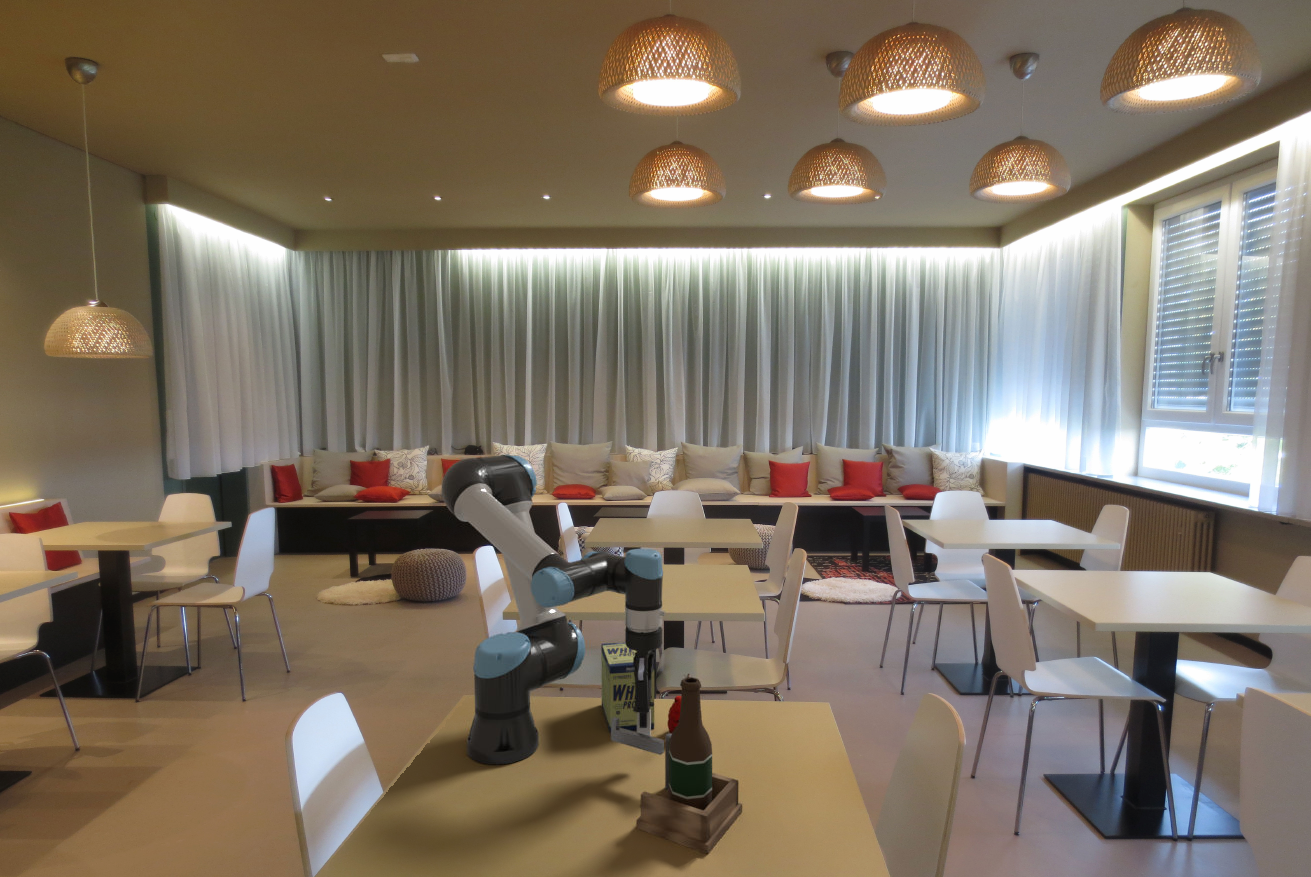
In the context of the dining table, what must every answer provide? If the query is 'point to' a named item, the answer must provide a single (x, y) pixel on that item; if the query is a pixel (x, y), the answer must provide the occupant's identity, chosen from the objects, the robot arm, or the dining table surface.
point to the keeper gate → (635, 738)
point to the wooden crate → (691, 813)
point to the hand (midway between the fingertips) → (643, 740)
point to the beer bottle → (690, 752)
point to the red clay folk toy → (675, 713)
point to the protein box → (620, 685)
